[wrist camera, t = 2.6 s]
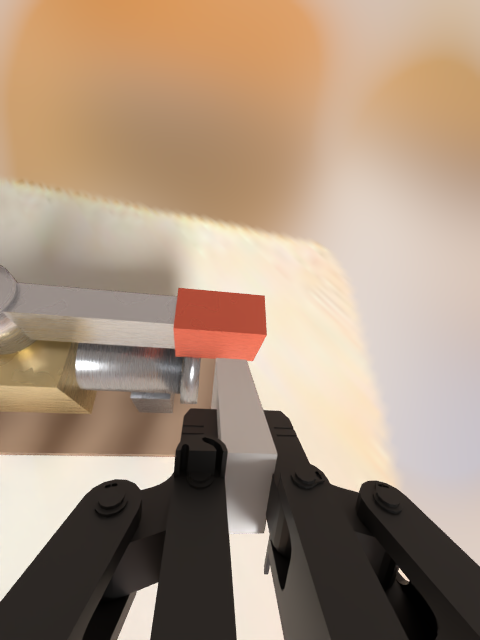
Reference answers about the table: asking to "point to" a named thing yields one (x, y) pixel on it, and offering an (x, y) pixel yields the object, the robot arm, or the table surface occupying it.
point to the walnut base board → (103, 426)
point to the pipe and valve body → (94, 377)
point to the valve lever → (132, 319)
